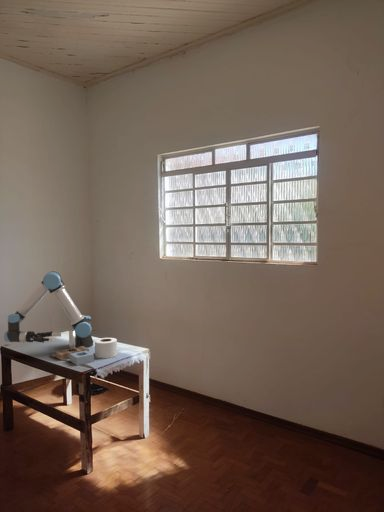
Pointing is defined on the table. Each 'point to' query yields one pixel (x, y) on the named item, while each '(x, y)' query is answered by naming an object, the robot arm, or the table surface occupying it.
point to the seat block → (81, 357)
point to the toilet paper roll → (105, 347)
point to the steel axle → (72, 340)
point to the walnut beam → (66, 353)
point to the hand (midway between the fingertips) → (57, 336)
